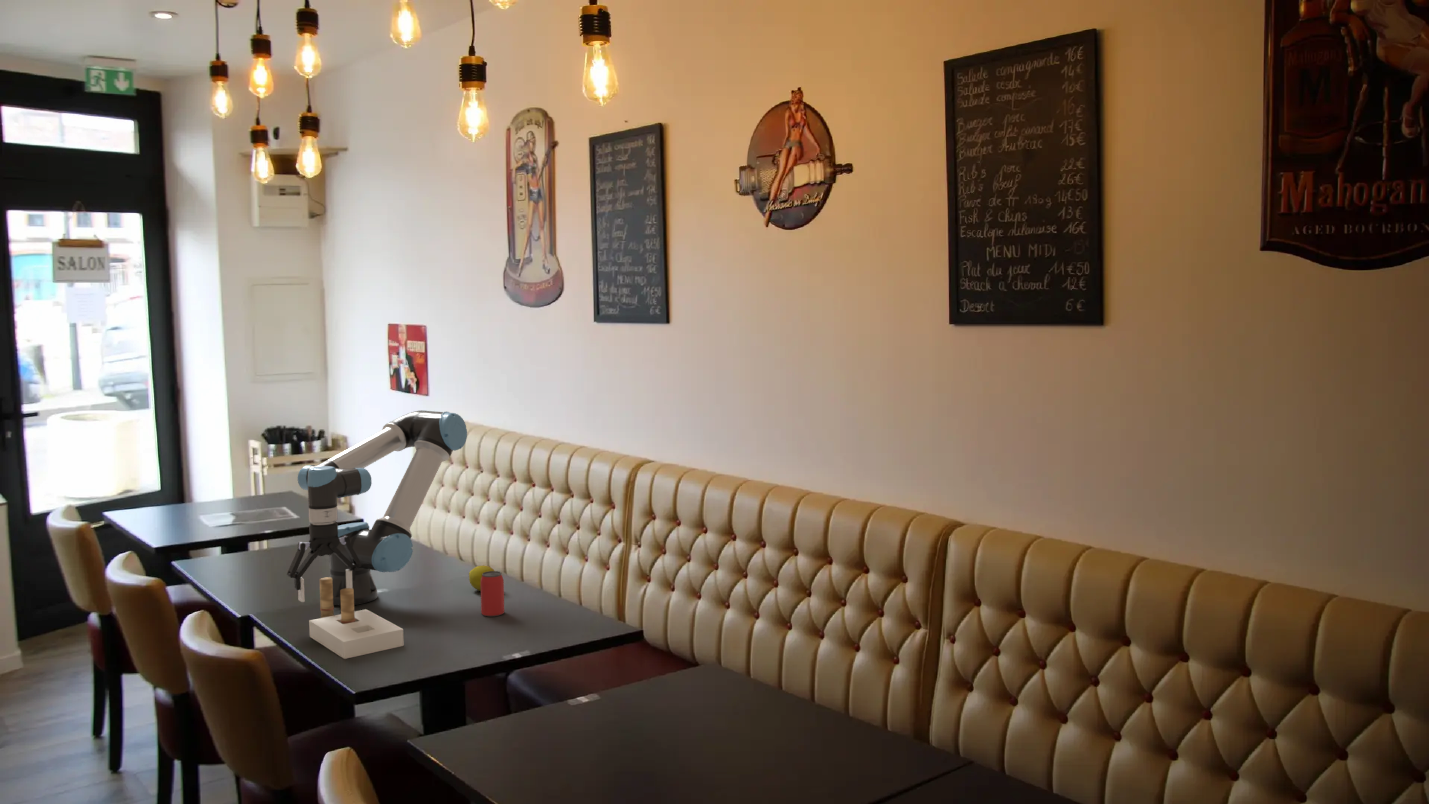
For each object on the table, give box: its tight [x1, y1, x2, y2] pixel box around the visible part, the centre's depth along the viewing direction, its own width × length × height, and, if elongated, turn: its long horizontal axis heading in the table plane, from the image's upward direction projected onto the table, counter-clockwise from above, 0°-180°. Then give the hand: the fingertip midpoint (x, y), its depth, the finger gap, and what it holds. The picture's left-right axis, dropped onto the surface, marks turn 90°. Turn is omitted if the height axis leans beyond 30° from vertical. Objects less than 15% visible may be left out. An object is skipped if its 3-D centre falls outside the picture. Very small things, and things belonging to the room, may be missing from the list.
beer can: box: [480, 570, 505, 618], centre depth 317 cm, size 7×7×12 cm
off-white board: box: [308, 608, 405, 660], centre depth 293 cm, size 16×24×4 cm, turn 40°
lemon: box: [468, 564, 495, 592], centre depth 342 cm, size 11×8×8 cm
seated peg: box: [340, 588, 355, 624], centre depth 296 cm, size 4×4×13 cm
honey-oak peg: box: [319, 576, 335, 618], centre depth 308 cm, size 4×4×13 cm
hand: (325, 596), depth 307 cm, fingers open, 13 cm apart
